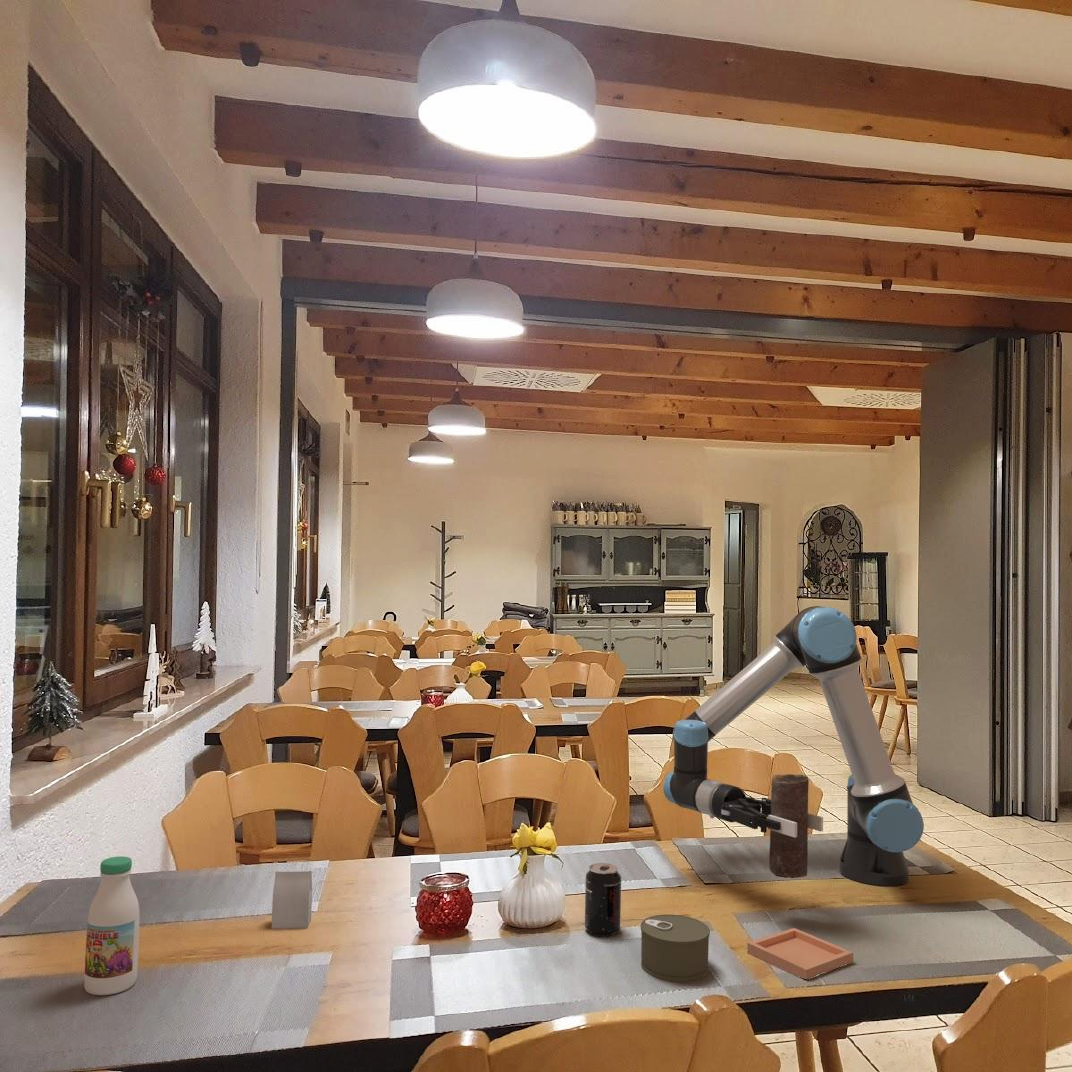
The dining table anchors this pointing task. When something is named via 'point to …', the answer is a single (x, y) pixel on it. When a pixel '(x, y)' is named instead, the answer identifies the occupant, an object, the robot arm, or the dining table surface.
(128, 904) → the milk bottle
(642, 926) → the can
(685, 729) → the robot arm
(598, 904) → the beverage can
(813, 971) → the dish
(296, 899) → the gray rectangular block
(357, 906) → the dining table surface
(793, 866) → the candle
